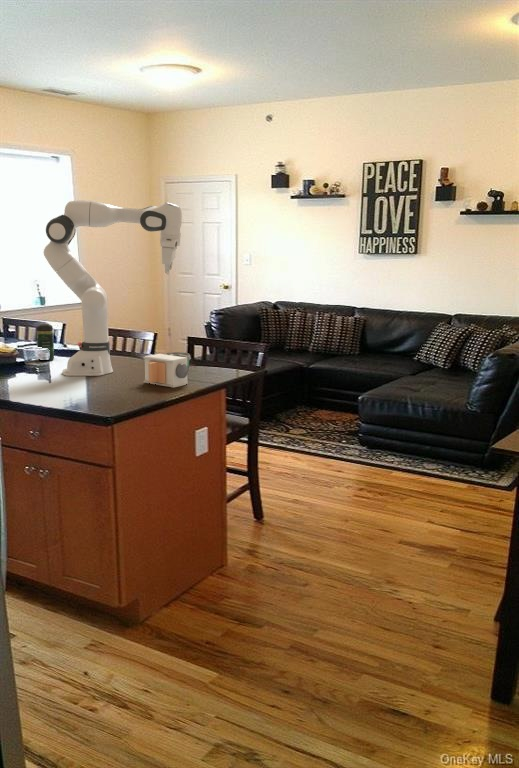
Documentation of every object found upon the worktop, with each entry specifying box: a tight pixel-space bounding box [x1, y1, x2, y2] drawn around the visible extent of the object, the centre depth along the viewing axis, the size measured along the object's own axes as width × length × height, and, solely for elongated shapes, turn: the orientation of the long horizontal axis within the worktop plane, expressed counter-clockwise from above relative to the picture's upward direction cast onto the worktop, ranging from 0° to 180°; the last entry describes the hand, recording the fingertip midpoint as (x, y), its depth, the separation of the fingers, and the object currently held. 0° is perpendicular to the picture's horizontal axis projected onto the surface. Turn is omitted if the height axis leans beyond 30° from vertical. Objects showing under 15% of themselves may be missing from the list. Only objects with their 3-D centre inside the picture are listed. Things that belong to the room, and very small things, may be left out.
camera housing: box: [142, 353, 189, 388], centre depth 274 cm, size 18×10×12 cm, turn 55°
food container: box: [165, 351, 192, 377], centre depth 295 cm, size 12×6×10 cm, turn 65°
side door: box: [148, 361, 166, 383], centre depth 269 cm, size 8×5×8 cm, turn 55°
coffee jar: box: [36, 322, 55, 361], centre depth 327 cm, size 10×8×19 cm
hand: (168, 271), depth 294 cm, fingers open, 8 cm apart
